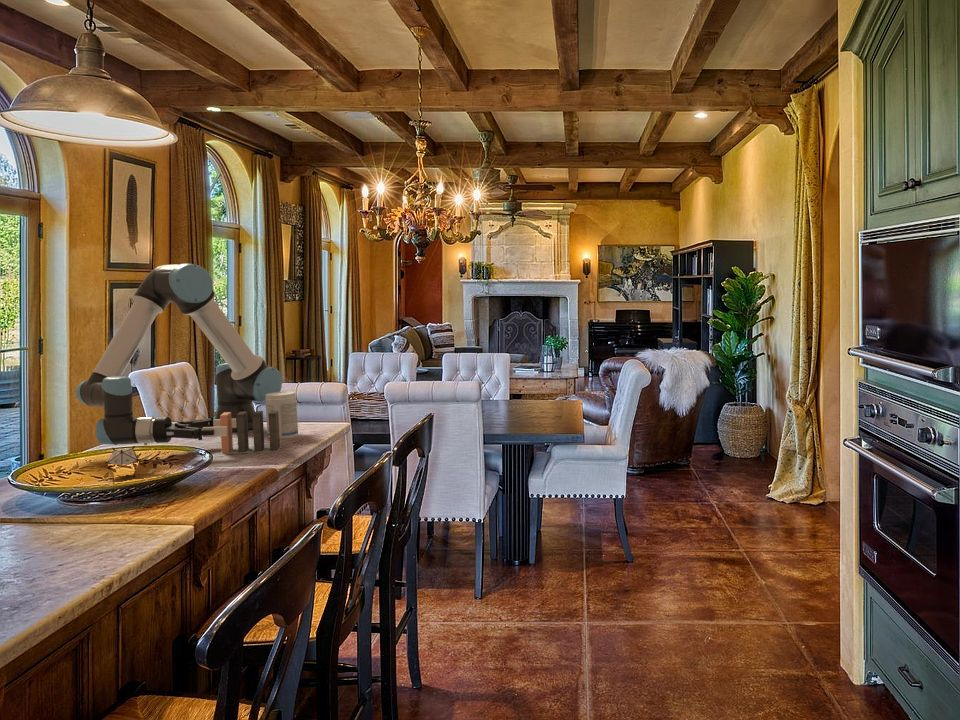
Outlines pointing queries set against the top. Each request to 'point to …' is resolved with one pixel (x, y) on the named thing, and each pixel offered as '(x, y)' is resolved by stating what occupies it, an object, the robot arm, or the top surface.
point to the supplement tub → (283, 412)
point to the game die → (123, 456)
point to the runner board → (251, 450)
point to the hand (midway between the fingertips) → (231, 427)
